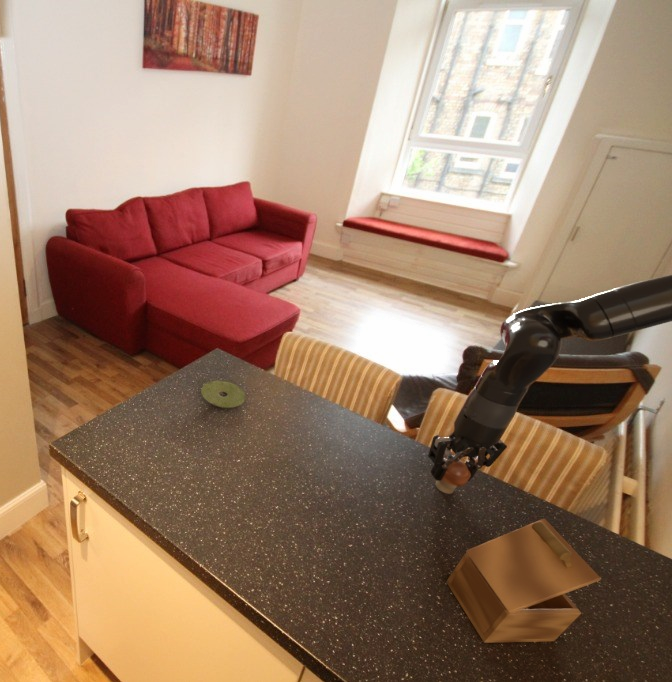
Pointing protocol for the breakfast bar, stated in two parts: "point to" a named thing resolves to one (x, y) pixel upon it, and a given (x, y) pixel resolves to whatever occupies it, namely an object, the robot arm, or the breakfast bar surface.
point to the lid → (531, 566)
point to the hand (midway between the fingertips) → (449, 477)
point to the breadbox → (494, 617)
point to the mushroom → (454, 477)
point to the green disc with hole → (223, 394)
